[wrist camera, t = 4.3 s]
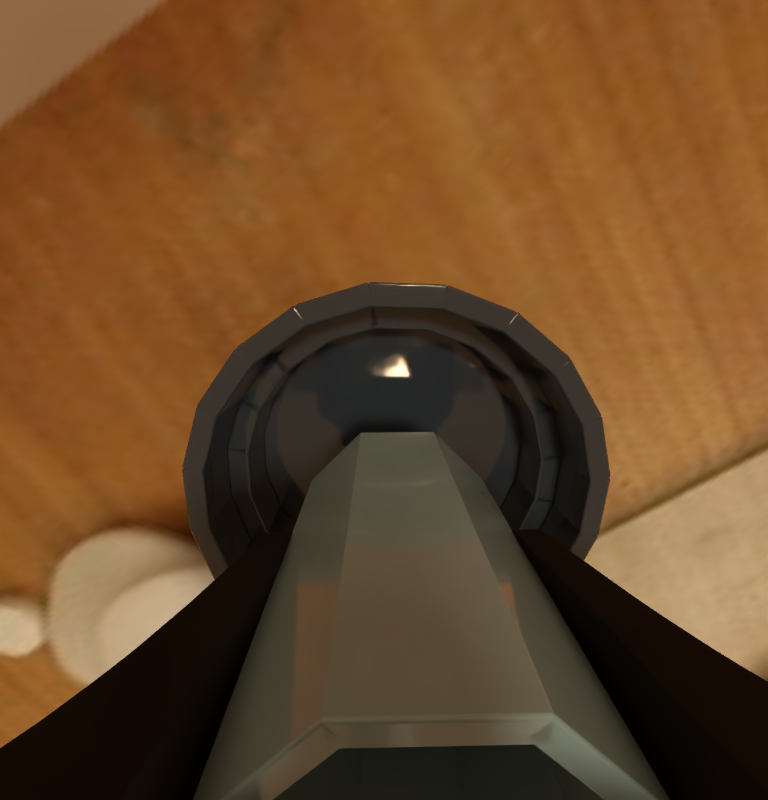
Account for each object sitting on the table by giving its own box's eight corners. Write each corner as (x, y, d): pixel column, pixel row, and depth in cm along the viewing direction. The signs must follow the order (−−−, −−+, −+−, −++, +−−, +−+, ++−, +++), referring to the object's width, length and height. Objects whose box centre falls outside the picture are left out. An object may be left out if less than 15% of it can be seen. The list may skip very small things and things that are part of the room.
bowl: (602, 356, 14) (691, 378, 10) (472, 610, 17) (501, 703, 13) (285, 235, 12) (243, 206, 9) (205, 532, 15) (147, 610, 11)
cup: (485, 430, 10) (718, 713, 3) (474, 578, 11) (626, 1014, 4) (309, 432, 10) (153, 724, 3) (317, 580, 11) (221, 1025, 4)
